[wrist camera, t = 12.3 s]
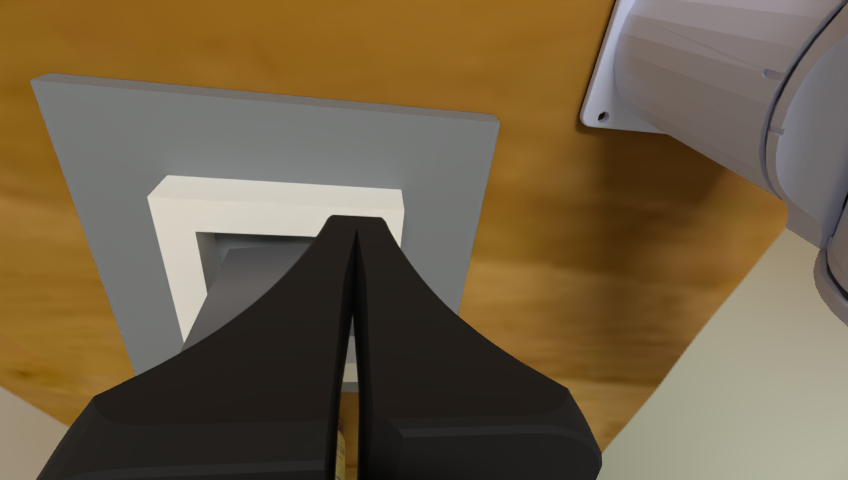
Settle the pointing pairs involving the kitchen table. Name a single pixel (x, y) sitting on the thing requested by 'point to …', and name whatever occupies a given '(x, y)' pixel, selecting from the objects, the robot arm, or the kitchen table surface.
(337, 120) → the socket
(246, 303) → the plug
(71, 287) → the kitchen table surface
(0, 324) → the kitchen table surface
